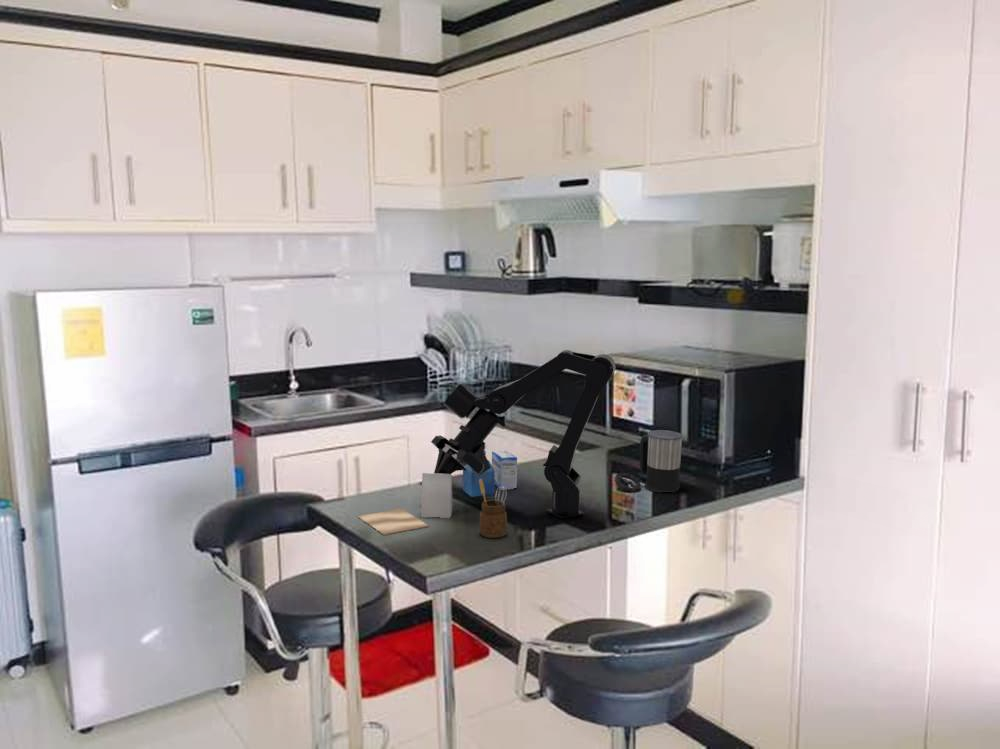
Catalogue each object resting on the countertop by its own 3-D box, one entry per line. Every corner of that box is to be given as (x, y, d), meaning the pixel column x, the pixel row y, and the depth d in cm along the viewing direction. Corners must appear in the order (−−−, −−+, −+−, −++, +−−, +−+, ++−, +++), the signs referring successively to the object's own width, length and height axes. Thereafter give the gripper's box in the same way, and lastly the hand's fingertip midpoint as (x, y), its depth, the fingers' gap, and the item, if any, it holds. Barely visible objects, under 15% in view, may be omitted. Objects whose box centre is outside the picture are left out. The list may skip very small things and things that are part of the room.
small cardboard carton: (450, 518, 189) (450, 476, 188) (421, 517, 190) (421, 475, 188) (452, 513, 193) (452, 472, 191) (423, 512, 193) (423, 471, 192)
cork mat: (428, 527, 183) (428, 525, 183) (383, 535, 177) (383, 534, 177) (401, 509, 194) (401, 508, 194) (358, 517, 189) (358, 516, 189)
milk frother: (687, 489, 216) (690, 434, 214) (652, 500, 205) (654, 443, 203) (643, 477, 226) (645, 425, 224) (607, 488, 216) (609, 433, 213)
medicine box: (490, 482, 219) (491, 450, 218) (506, 481, 221) (506, 449, 220) (501, 490, 212) (501, 457, 211) (517, 489, 214) (517, 456, 212)
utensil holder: (501, 540, 175) (502, 486, 174) (474, 536, 178) (474, 482, 176) (510, 531, 181) (511, 479, 179) (484, 527, 183) (485, 475, 181)
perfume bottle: (471, 497, 206) (472, 450, 204) (462, 490, 212) (463, 445, 210) (494, 494, 208) (495, 448, 207) (484, 487, 214) (485, 443, 212)
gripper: (516, 460, 190) (473, 513, 187) (480, 442, 206) (440, 491, 203) (485, 431, 185) (441, 484, 182) (451, 415, 202) (410, 464, 198)
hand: (434, 482), depth 192 cm, fingers closed
